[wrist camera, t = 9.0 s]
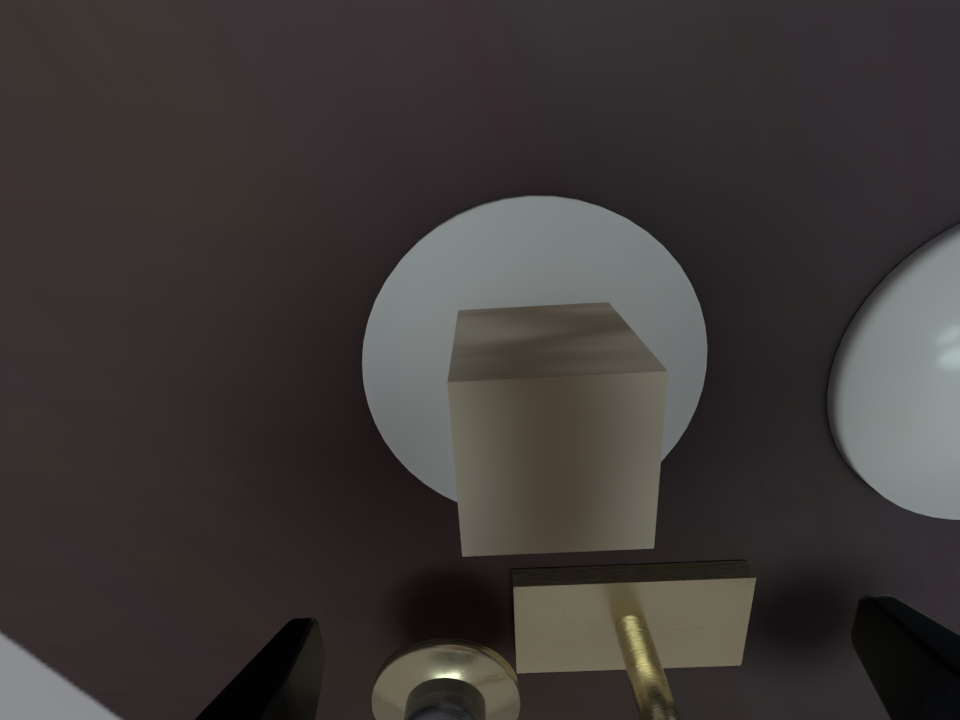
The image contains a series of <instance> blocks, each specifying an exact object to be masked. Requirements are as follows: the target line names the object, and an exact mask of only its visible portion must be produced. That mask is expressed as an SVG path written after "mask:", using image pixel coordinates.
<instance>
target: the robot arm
mask: <svg viewBox="0 0 960 720" xmlns="http://www.w3.org/2000/svg"><path fill="white" fill-rule="evenodd" d="M851 640H852V644H853V647H854V649H855V651H856V653H857V655H858V657H859V659H860V661H861V663H862V664H863V666H864V668H865V670H866V672H867V674H868V676H869V678H870V680H871V682H872V684H873V686H874V688H875V690H876V692H877V693H878V695H879V697H880V699H881V701H882V703H883V705H884V707H885V709H886V711H887V713H888V715H889V717H890V719H891V720H960V635H959V634H957V633H956V632H954V631H952V630H951V629H949V628H947V627H945V626H944V625H942V624H940V623H939V622H937V621H935V620H933V619H932V618H930V617H928V616H926V615H925V614H923V613H921V612H920V611H918V610H916V609H914V608H913V607H911V606H909V605H908V604H906V603H904V602H902V601H901V600H899V599H897V598H895V597H893V596H891V595H886V594H880V595H865V596H863V597H861V598H860V600H859V602H858V606H857V609H856V613H855V617H854V621H853V624H852V628H851ZM324 667H325V652H324V647H323V642H322V638H321V633H320V629H319V624H318V622H317V620H316V619H315V618H296V619H292V620H290V621H289V622H288V623H287V624H286V625H285V626H284V627H283V628H282V629H281V630H280V631H279V632H278V633H277V634H276V635H275V636H274V637H273V638H272V639H271V640H270V641H269V642H268V643H267V645H266V646H265V647H264V648H263V649H262V650H261V651H260V652H259V653H258V654H257V655H256V656H255V657H254V658H253V659H252V660H251V661H250V662H249V663H248V664H247V665H246V666H245V667H244V669H243V670H242V671H241V672H240V673H239V674H238V675H237V676H236V677H235V678H234V679H233V680H232V681H231V682H230V683H229V684H228V685H227V686H226V687H225V688H224V689H223V690H222V692H221V693H220V694H219V695H218V696H217V697H216V698H215V699H214V700H213V701H212V702H211V703H210V704H209V705H208V706H207V707H206V708H205V709H204V710H203V711H202V712H201V713H200V714H199V716H198V717H197V718H196V719H195V720H315V716H316V711H317V705H318V700H319V695H320V689H321V684H322V679H323V673H324Z"/></svg>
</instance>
